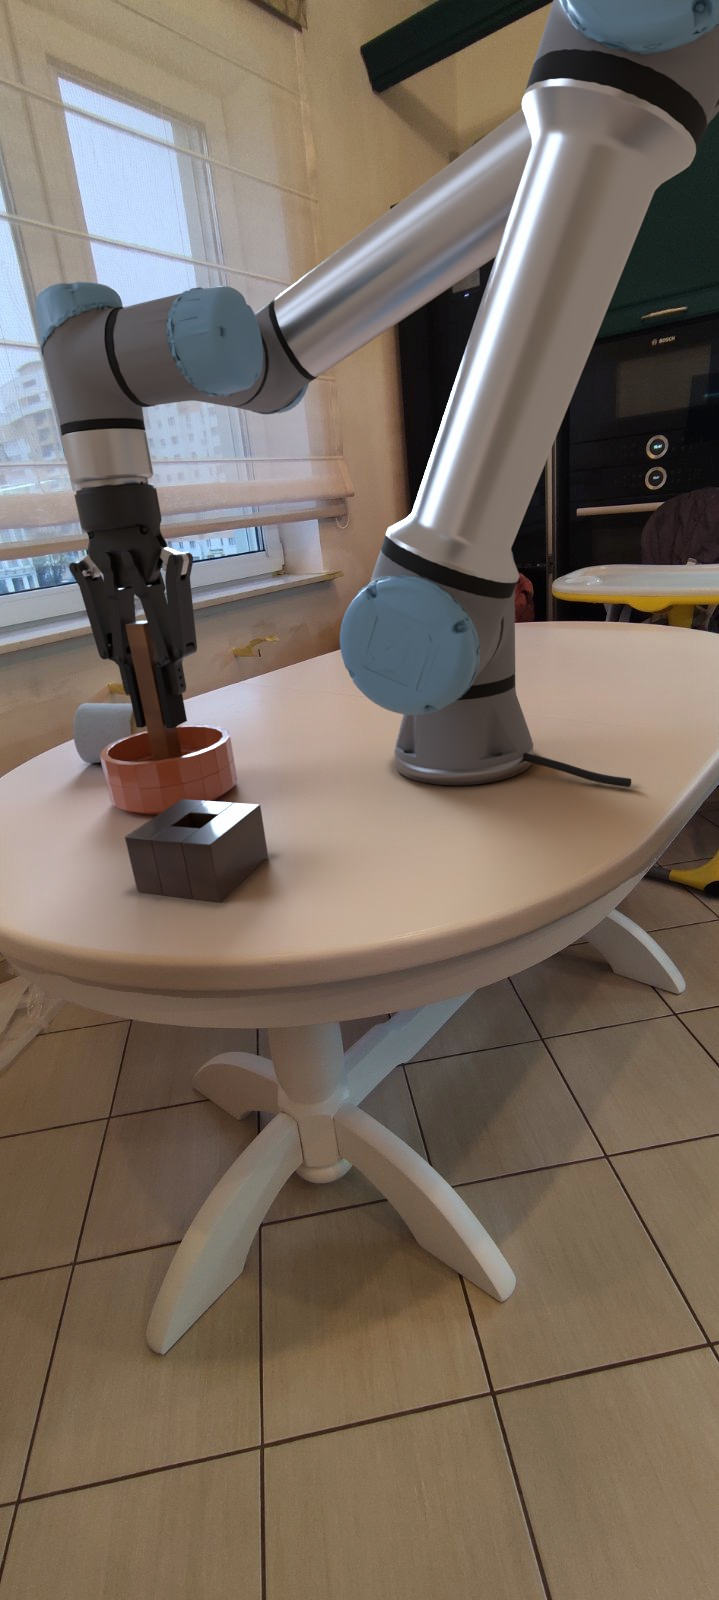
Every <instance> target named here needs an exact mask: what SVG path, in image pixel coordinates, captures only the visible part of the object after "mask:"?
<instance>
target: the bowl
mask: <svg viewBox="0 0 719 1600" xmlns="http://www.w3.org/2000/svg"><path fill="white" fill-rule="evenodd" d="M176 727H177V732H178V737H179V742H180V748H181V753H182V756H180V757H177V758H171V759H165V760H158V761H154V760H153V755H152V750H151V745H150V741H149V736H148V731H144V732H140V733H136V734H133V735H130V736H127V737H124V738H121V739H119V740H117V741H115V742H113V743H111V744H109V745H108V746H106V747H105V748H104V749H103V750H102V751H101V755H100V759H101V767H102V771H103V775H104V779H105V783H106V788H107V792H108V797H109V801H110V803H111V804H112V805H113V806H114V807H115V808H117V809H120V810H123V811H126V812H131V813H135V814H140V815H159V814H160V813H162V812H163V811H165V810H166V809H168V808H169V807H171V806H172V805H174V804H175V803H177V802H178V801H180V800H181V799H186V800H200V801H216V800H217V799H219V798H220V797H222V796H223V795H224V794H226V793H227V792H228V791H230V790H231V789H233V788H234V786H235V785H236V783H237V781H238V775H237V769H236V763H235V758H234V751H233V745H232V740H231V739H232V738H231V735H230V732H229V730H228V729H226V728H223V727H222V726H217V725H211V724H180V725H178V726H176Z"/></svg>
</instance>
